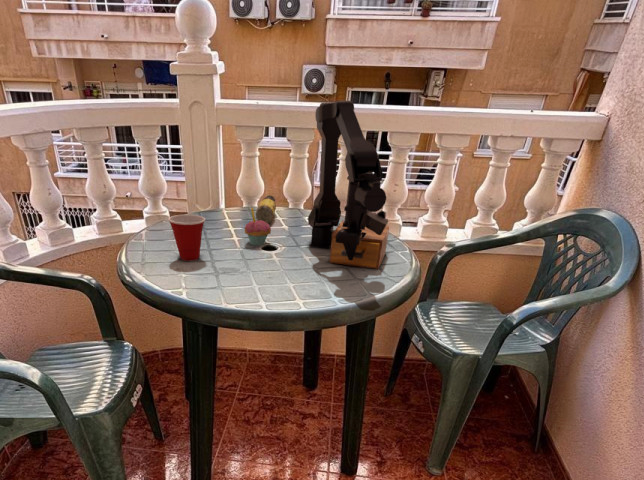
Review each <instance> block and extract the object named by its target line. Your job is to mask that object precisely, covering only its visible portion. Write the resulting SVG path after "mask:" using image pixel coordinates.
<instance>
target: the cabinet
mask: <svg viewBox="0 0 644 480" xmlns="http://www.w3.org/2000/svg"><path fill="white" fill-rule="evenodd" d="M344 221H345V220H343V219H342V220H341V221H340V222H339V224H338V226H336V228H335V229H334V230H335V231H334V232H333V234H332V241H331V246H330V254H329V264H338V265H344V266H345V265H346V266H350V267H351V266H352V267H360V268H367V269H375V270H379V268H380V266H381V264H382V262H383V259H384V256H385V255H386V252H387V246H388V245H387V244H388V239H389V233H390V227H391V226H390V225H388V224H387V225H386V227H385V229H384V230H383V232H382V234H381V235H378V234H376V233H375V232H373V231H371V230H370V229H368V228H366V227H365V230H362V232H365V233H366V235H365V237H364V238H363V240H364V241H372V242H380V247H379V253H378V260H377V266H376V267H369V266H362V265H354V264H347V263H339V262H332V261H331V255H332V243H333V238H336V234H337V233H338V232H339V231H340V230H341V229H342V228H346V229H347V227H343V222H344Z"/></svg>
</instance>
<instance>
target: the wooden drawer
mask: <svg viewBox="0 0 644 480" xmlns="http://www.w3.org/2000/svg"><path fill="white" fill-rule="evenodd" d="M335 241H336V238H333V243H332V255H331V261H332V262H339V263H347V264H354V265H362V266H369V267H376V266H377V260H378V253H379V247H380V242H372V241H361V242H360V244H359V245H358V246H357V249H356V252H355V255H354V258H353V260H349V259H348V256H347V253H346V250H345V247H344V245H343V243H337V242H335Z"/></svg>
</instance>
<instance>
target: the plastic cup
mask: <svg viewBox="0 0 644 480" xmlns="http://www.w3.org/2000/svg"><path fill="white" fill-rule="evenodd" d="M167 220H168V222H169V223H170V227H171V230H172V233H173V236H174V237H173V238H174V240H175V245H176V248H177V251H178V255H179V258H180V259H181V260H183V261H187V262H191V261H196V260H198V259H199V258H200V256H201V245H202V237H203V236H202V235H203V229H204V224H205V222H206V217H205V216H201V215H198V214H175V215H171V216H169V217H168V219H167Z"/></svg>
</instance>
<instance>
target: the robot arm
mask: <svg viewBox="0 0 644 480" xmlns="http://www.w3.org/2000/svg"><path fill="white" fill-rule="evenodd" d="M315 121H316V129H317V131H318V133H319V135H320V137H321V149H320V150H321V154H320V171H319V173H320V176H319V192H318V193H317V195H316V197H315V199H314V200H313V205H312V207H313V208H311V211H310V212H309V215H308V217H307V222H308V223H307V225H309V226H310V227H311V240H310V243H309V247H313V248H314V247H315V248H321V249H331V241H332V234H333V232H334V231H335V230H336V229H334V227H338V226H339V224H340V219H341V216H342V210H341V199H339V197H338V196H337V194H336V187H337V185H336V183H337V169H338V153H339V140H340V137H341V138H342V140H343V143H344V145H345V146H344V147H345V148H346V154H345V158H344V162H345V163H344V164H345V169H346V172H347V177H346V180H347V181H348V184H347V185H348V186H347V197H346V202H345V203H346V205H345V206H344V207H343V208H344V209H343V211H344V212H345V214H344V220H343V221H344V222H343V227H347V229H346V228H342V229H341V230H340V231H339V232H338V233H337V234H336V241H335V242H337V243H343V245H344V247H345V250H346V253H347V256H348V259H349V260H353V258H354V255H355V252H356V249H357V246H358V245H359V244H360V242H361V241H362V240H363V238H364V237H365V235H366V233H365V232H362V230H365V227H366V228H368V229H370V230H371V231H373V232H375V233H376V234H378V235H381V234H382V232H383V230H384V229H385V227H386V225H388V223H389V219H388V218H387V212H386V211H384V210H383V207H384V206H385V205H386V201H387V194H386V191H385V190H384V189H383V188H382V187H381V183H382V182H381V181H382V180H383V177H382V176H383V169H382V165H381V161H380V156H379V154H378V151H377V150H376V147H375V146H374V144H373V143H372V142H370V141H369V140H367V138H365V136H364V133H363V130H362V128H361V124H360V123H359V120H358V118H357V115H356V112H355V104H354V101H351V100H336V101H333V102H321V103H320V104H319V106H318V107H316V109H315Z"/></svg>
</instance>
